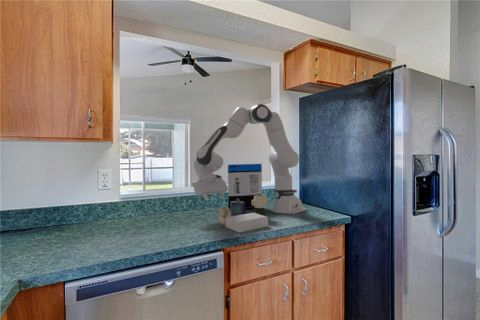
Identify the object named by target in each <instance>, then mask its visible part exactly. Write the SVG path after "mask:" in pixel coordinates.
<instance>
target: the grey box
mask: <svg viewBox="0 0 480 320" xmlns="http://www.w3.org/2000/svg"><path fill="white" fill-rule="evenodd" d="M266 227H269V217H268V216H263V215H260V214H256V213H255V212H250V213H245V214H243V215H237V216H230V217H227V218H226V225H225V228H227V229H229V230H232V231H235V232H237V233H243V232H248V231H253V230H258V229H263V228H266Z"/></svg>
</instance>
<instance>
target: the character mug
mask: <svg viewBox="0 0 480 320" xmlns="http://www.w3.org/2000/svg"><path fill="white" fill-rule="evenodd" d="M253 201H254V204H253ZM268 204H269V198H267V195H265V194H262V195H255V196H254V200H252V206H254V207H256V209H254V210H255V212H254V213H256V214H260V215H263V216H266V209H265V208H267V205H268ZM266 217H267V216H266Z"/></svg>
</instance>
